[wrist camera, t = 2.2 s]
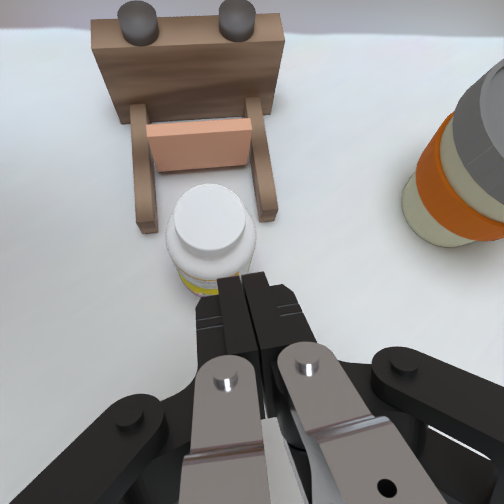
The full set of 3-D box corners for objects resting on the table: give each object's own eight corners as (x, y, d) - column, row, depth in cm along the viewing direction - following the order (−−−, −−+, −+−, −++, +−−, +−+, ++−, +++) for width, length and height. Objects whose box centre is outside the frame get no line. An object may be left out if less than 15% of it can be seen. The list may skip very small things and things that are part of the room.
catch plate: (247, 164, 39) (252, 129, 33) (157, 171, 38) (147, 136, 32) (245, 154, 39) (250, 117, 34) (157, 161, 38) (146, 124, 33)
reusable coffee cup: (516, 195, 42) (670, 105, 28) (471, 288, 38) (622, 240, 24) (416, 135, 43) (514, 19, 29) (364, 220, 39) (446, 135, 25)
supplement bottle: (211, 220, 38) (208, 150, 26) (262, 263, 37) (283, 212, 25) (163, 268, 36) (135, 217, 24) (215, 315, 35) (213, 287, 23)
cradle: (288, 219, 39) (316, 159, 28) (126, 235, 37) (87, 178, 26) (266, 91, 43) (282, -4, 32) (120, 100, 41) (84, 2, 30)
